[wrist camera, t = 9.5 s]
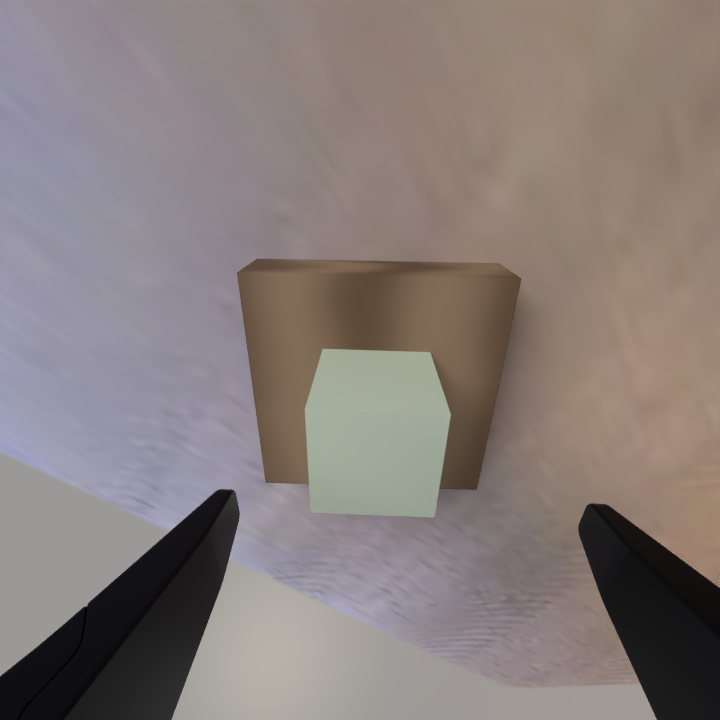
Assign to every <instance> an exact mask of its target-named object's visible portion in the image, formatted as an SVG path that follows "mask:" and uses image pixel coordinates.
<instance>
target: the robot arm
mask: <svg viewBox="0 0 720 720" xmlns="http://www.w3.org/2000/svg"><path fill="white" fill-rule="evenodd" d="M239 515H240V514H239V507H238V502H237V497H236V493H235V491H234V490H227V489H220V490H217V491H216V492H215V493H213V494H212V495H211V496H210V497H209V498H208V499H207V500H205V501H204V502H203V503H202V504H201V505H200V506H199V507H197V508H196V509H195V510H194V511H193V512H192V513H191V514H189V515H188V516H187V517H186V518H185V519H184V520H183V521H181V522H180V523H179V524H178V525H177V526H176V527H175V528H173V529H172V530H171V531H170V532H169V533H168V534H167V535H166V536H164V537H163V538H162V539H161V540H160V541H159V542H158V543H157V544H155V545H154V546H153V547H152V548H151V549H150V550H149V551H147V552H146V553H145V554H144V555H143V556H142V557H140V558H139V559H138V560H137V561H136V562H135V563H134V564H132V565H131V566H130V567H129V568H128V569H127V570H126V571H125V572H123V573H122V574H121V575H120V576H119V577H118V578H117V579H115V580H114V581H113V582H112V583H111V584H110V585H109V586H107V587H106V588H105V589H104V590H103V591H102V592H100V593H99V594H98V595H97V596H96V597H95V598H94V599H92V600H91V601H90V602H89V603H88V605H87V607H83V608H82V609H81V610H80V611H79V612H77V613H76V614H75V615H74V616H73V617H72V618H71V619H69V620H68V621H67V622H66V623H65V624H64V625H63V626H61V627H60V628H59V629H58V630H57V631H55V632H54V633H53V634H52V635H51V636H49V637H48V638H47V639H46V640H45V641H44V642H42V643H41V644H40V645H39V646H38V647H36V648H35V649H34V650H33V651H31V652H30V653H29V654H28V655H27V656H25V657H24V658H23V659H21V660H20V661H19V662H18V663H16V664H15V665H14V666H13V667H12V668H10V669H9V670H8V671H6V672H5V673H4V674H2V675H1V676H0V720H171V719H172V717H173V714H174V711H175V709H176V706H177V703H178V700H179V698H180V695H181V692H182V690H183V687H184V684H185V682H186V679H187V676H188V673H189V671H190V668H191V666H192V663H193V660H194V658H195V655H196V652H197V650H198V647H199V644H200V642H201V639H202V636H203V634H204V631H205V628H206V626H207V623H208V620H209V617H210V614H211V612H212V609H213V607H214V604H215V601H216V599H217V596H218V593H219V591H220V588H221V585H222V582H223V579H224V575H225V572H226V567H227V564H228V560H229V556H230V552H231V549H232V545H233V541H234V537H235V533H236V530H237V526H238V522H239ZM578 530H579V536H580V539H581V541H582V544H583V547H584V550H585V553H586V556H587V559H588V561H589V564H590V567H591V570H592V573H593V576H594V579H595V581H596V584H597V587H598V590H599V593H600V595H601V598H602V600H603V603H604V605H605V607H606V609H607V612H608V614H609V616H610V618H611V620H612V623H613V625H614V627H615V629H616V631H617V634H618V636H619V638H620V640H621V642H622V644H623V647H624V649H625V651H626V653H627V655H628V658H629V660H630V662H631V664H632V666H633V668H634V671H635V673H636V675H637V677H638V679H639V682H640V684H641V686H642V688H643V690H644V692H645V694H646V697H647V699H648V701H649V703H650V706H651V708H652V710H653V712H654V714H655V716H656V718H657V720H720V588H719V587H718V586H716V585H715V584H714V583H712V582H711V581H710V580H708V579H707V578H706V577H704V576H703V575H701V574H700V573H699V572H697V571H696V570H695V569H693V568H692V567H691V566H689V565H688V564H687V563H685V562H684V561H683V560H681V559H680V558H679V557H677V556H676V555H675V554H673V553H672V552H670V551H669V550H668V549H666V548H665V547H664V546H662V545H661V544H660V543H658V542H657V541H656V540H654V539H653V538H652V537H650V536H649V535H648V534H646V533H645V532H644V531H642V530H641V529H639V528H638V527H637V526H635V525H634V524H633V523H631V522H630V521H629V520H627V519H626V518H625V517H623V516H622V515H621V514H619V513H618V512H617V511H615V510H614V509H613V508H611V507H610V506H608V505H606V504H592V503H591V504H589V505H587V506H586V509H585V511H584V513H583V516H582V518H581V521H580V523H579V528H578Z"/></svg>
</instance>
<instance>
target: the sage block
mask: <svg viewBox="0 0 720 720" xmlns="http://www.w3.org/2000/svg"><path fill="white" fill-rule="evenodd" d="M450 417H451V413H450V410H449V407H448V404H447V401H446V398H445V395H444V392H443V389H442V386H441V383H440V380H439V377H438V374H437V371H436V368H435V365H434V362H433V359H432V356H431V353H430V352H409V351H377V350H345V349H323V350H322V353H321V356H320V360H319V363H318V366H317V370H316V373H315V377H314V380H313V383H312V387H311V390H310V393H309V397H308V400H307V404H306V407H305V423H306V440H307V458H308V475H309V493H310V510H311V513H333V514H358V515H382V516H407V517H432V518H435V512H436V506H437V499H438V493H439V487H440V480H441V474H442V468H443V461H444V455H445V449H446V442H447V436H448V430H449V423H450Z"/></svg>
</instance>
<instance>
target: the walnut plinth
mask: <svg viewBox="0 0 720 720" xmlns="http://www.w3.org/2000/svg"><path fill="white" fill-rule="evenodd" d="M237 276H238V283H239V290H240V298H241V305H242V312H243V320H244V327H245V334H246V342H247V349H248V356H249V363H250V371H251V378H252V385H253V393H254V400H255V407H256V415H257V422H258V429H259V437H260V444H261V451H262V458H263V466H264V473H265V480H266V483H293V484H309V475H308V458H307V440H306V423H305V407H306V404H307V400H308V397H309V393H310V390H311V387H312V383H313V380H314V377H315V373H316V370H317V366H318V363H319V360H320V356H321V353H322V350H323V349H345V350H377V351H409V352H430V353H431V356H432V359H433V362H434V365H435V368H436V371H437V374H438V377H439V380H440V383H441V386H442V389H443V392H444V395H445V398H446V401H447V404H448V407H449V410H450V413H451V417H450V423H449V430H448V436H447V442H446V449H445V455H444V461H443V468H442V474H441V480H440V487H439V488H440V489H469V490H477V486H478V481H479V476H480V471H481V467H482V462H483V457H484V452H485V448H486V443H487V438H488V434H489V429H490V424H491V419H492V415H493V410H494V405H495V400H496V396H497V391H498V386H499V381H500V377H501V372H502V367H503V362H504V358H505V353H506V348H507V344H508V339H509V334H510V329H511V325H512V320H513V315H514V310H515V306H516V301H517V296H518V291H519V287H520V282H521V278H520V277H518V276H517V275H515V274H514V273H512V272H511V271H509V270H508V269H506V268H505V267H503V266H502V265H500V264H488V263H437V262H387V261H336V260H285V259H256V260H255V261H253V262H252V263H251V264H249V265H248V266H246V267H245V268H243V269H242V270H240V271H239V272H237Z"/></svg>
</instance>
